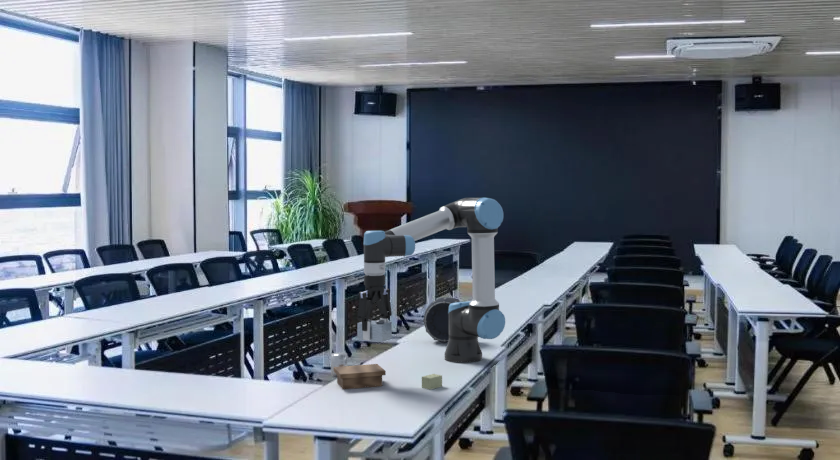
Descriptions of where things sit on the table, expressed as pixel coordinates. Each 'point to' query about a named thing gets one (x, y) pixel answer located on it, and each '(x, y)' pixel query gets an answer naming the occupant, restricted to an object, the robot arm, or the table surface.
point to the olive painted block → (431, 381)
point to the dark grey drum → (438, 318)
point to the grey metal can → (338, 361)
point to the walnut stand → (359, 376)
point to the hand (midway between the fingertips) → (374, 338)
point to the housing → (376, 331)
